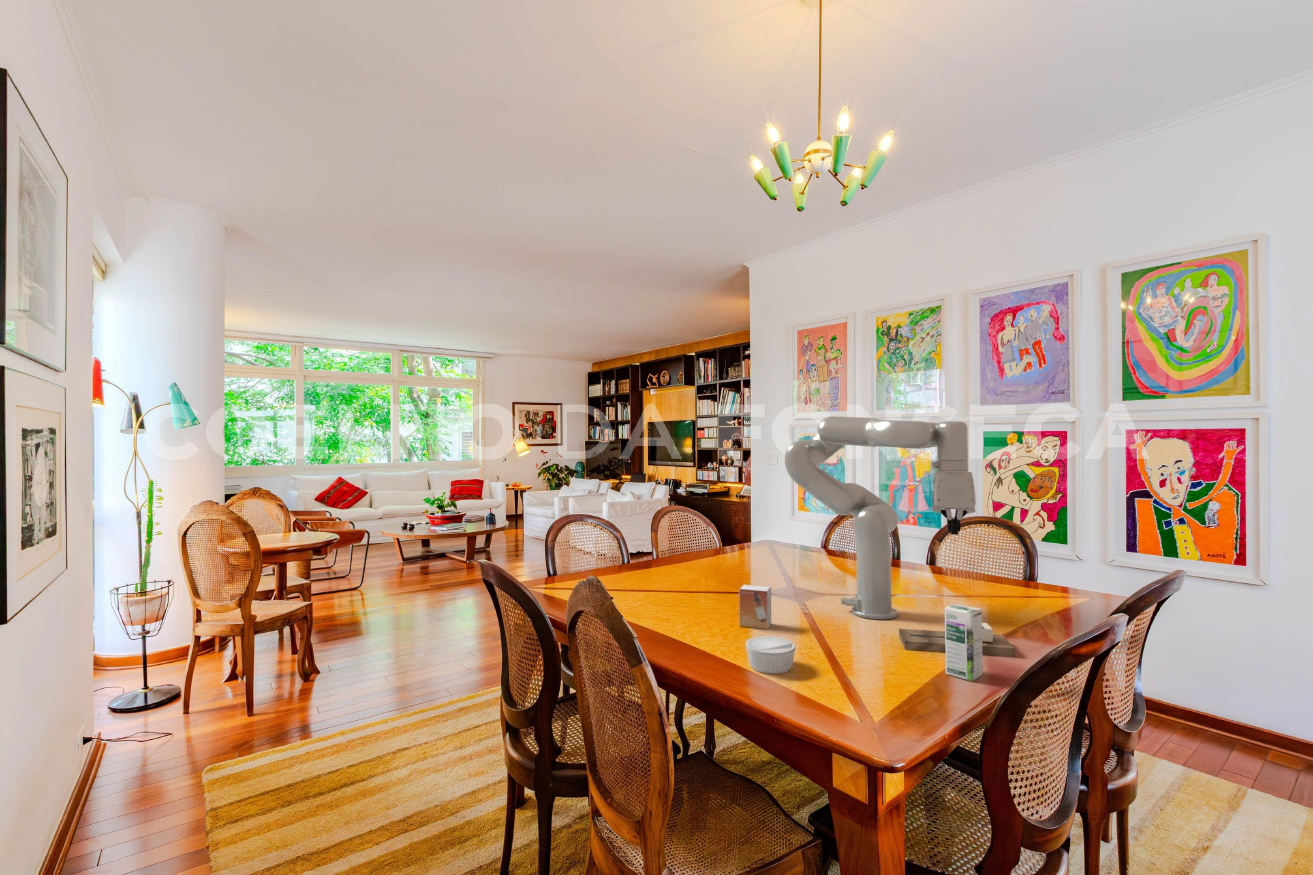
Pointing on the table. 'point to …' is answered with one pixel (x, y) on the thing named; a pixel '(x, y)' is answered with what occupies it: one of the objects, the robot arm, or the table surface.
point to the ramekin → (770, 654)
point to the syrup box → (963, 641)
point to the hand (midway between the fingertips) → (953, 533)
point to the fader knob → (987, 633)
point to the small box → (755, 606)
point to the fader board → (936, 642)
